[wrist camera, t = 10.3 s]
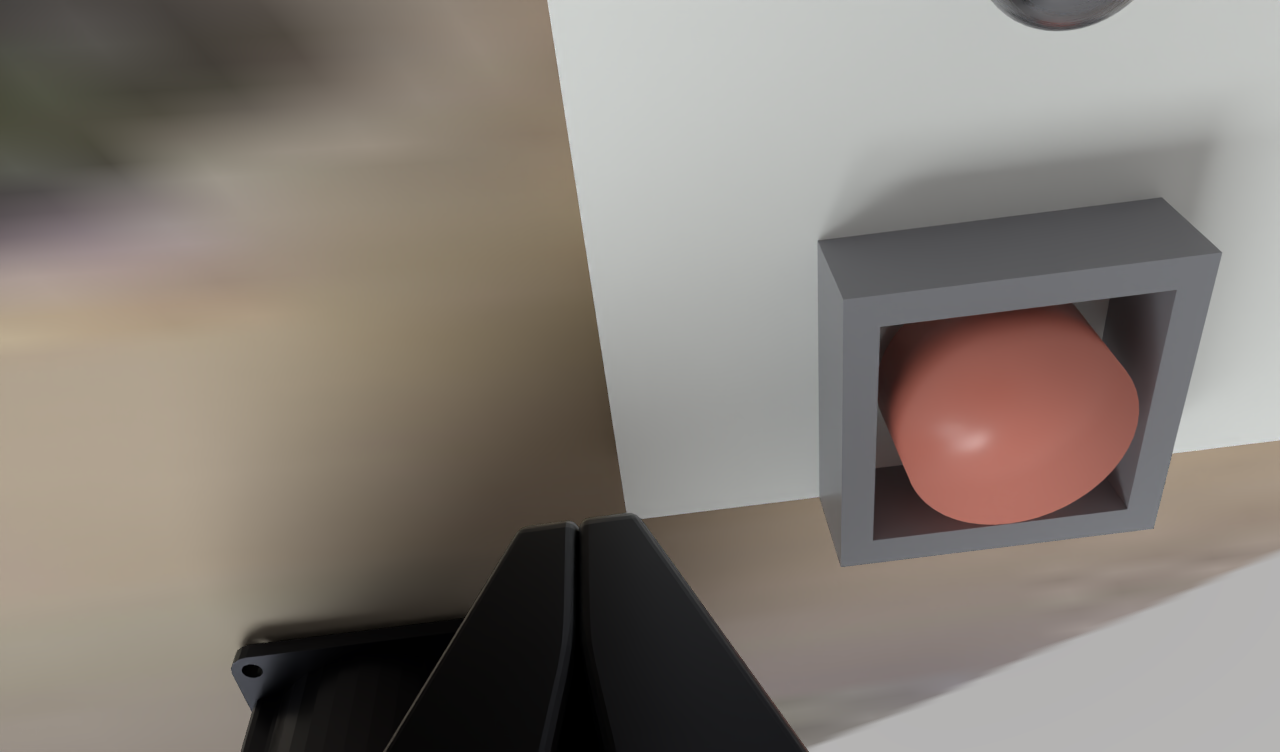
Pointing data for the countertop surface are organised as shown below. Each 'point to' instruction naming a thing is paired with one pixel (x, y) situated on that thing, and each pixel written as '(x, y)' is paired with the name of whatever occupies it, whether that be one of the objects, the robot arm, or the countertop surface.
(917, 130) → the control panel
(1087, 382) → the push button
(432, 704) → the robot arm
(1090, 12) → the toggle lever
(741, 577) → the countertop surface
